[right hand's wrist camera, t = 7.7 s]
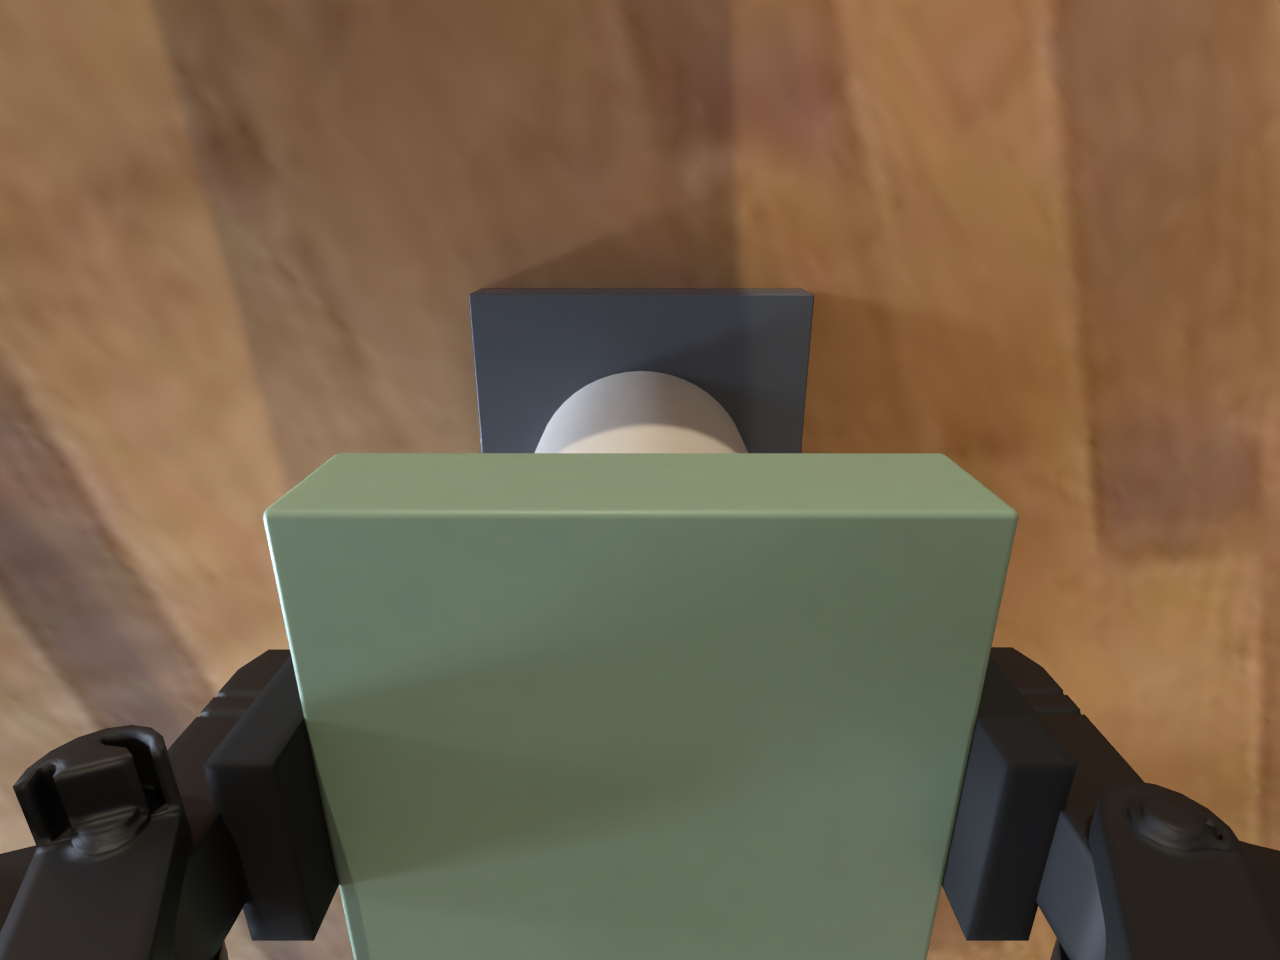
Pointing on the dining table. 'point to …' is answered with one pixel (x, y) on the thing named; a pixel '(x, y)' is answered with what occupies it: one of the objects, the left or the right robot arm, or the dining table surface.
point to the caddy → (641, 369)
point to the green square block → (640, 696)
